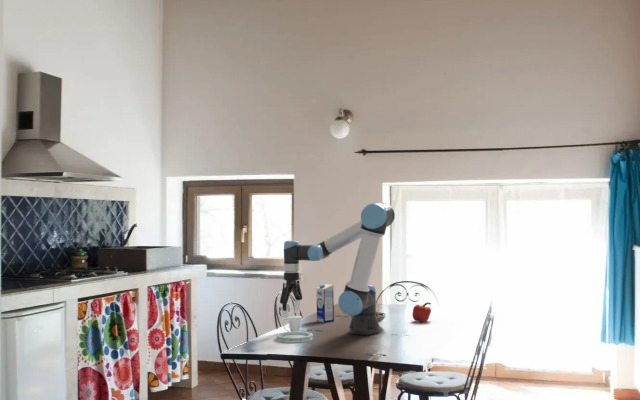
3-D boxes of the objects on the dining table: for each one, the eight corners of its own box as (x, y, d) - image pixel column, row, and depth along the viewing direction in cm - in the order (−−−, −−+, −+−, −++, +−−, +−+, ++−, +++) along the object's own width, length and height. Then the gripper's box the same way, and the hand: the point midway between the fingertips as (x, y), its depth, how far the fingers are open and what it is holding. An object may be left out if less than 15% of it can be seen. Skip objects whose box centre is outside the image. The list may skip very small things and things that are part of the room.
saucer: (318, 336, 308) (318, 332, 308) (303, 343, 292) (303, 339, 292) (286, 334, 314) (286, 330, 314) (270, 341, 299) (270, 337, 299)
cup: (298, 334, 314) (297, 318, 314) (280, 333, 318) (279, 317, 318) (304, 332, 320) (304, 316, 320) (287, 331, 325) (286, 315, 325)
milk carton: (334, 321, 351) (333, 284, 352) (324, 322, 347) (323, 285, 348) (326, 319, 357) (326, 283, 358) (316, 321, 353) (316, 284, 354)
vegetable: (427, 319, 353) (426, 301, 353) (436, 322, 343) (435, 303, 343) (408, 320, 349) (408, 302, 350) (417, 323, 340) (417, 304, 340)
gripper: (295, 269, 333) (295, 310, 332) (272, 273, 310) (272, 318, 310) (308, 270, 330) (308, 311, 330) (286, 274, 307) (286, 319, 307)
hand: (291, 315), depth 320 cm, fingers open, 13 cm apart
